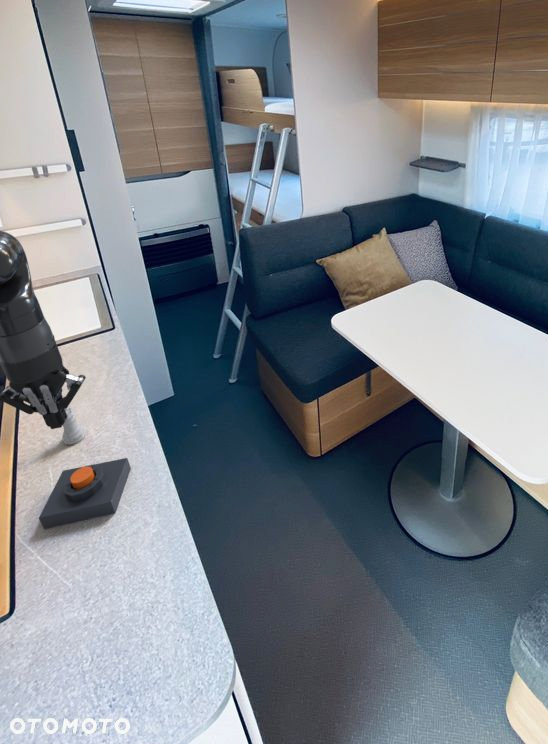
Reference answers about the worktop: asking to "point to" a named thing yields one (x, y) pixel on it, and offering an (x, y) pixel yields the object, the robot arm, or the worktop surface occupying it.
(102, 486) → the control box
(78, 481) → the button
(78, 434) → the rook chess piece
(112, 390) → the worktop surface
